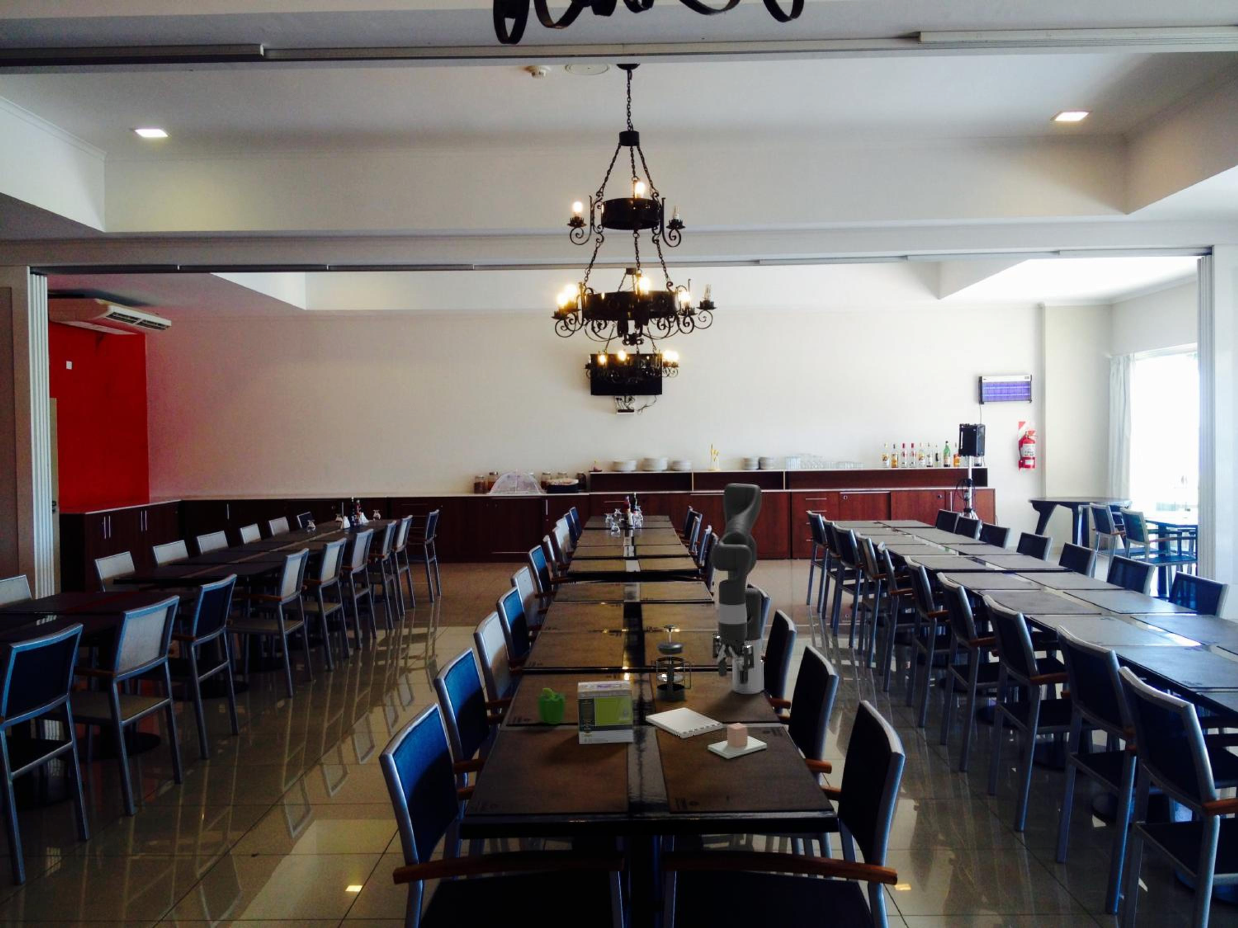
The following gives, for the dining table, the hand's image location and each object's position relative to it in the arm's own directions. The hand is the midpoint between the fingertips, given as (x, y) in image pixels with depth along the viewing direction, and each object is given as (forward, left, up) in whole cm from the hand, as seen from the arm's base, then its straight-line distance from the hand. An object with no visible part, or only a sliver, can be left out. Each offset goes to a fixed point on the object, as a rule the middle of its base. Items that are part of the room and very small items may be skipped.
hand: (733, 679), depth 230 cm
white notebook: (0, -22, -18) cm, 29 cm away
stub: (0, +2, -18) cm, 18 cm away
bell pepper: (+30, -46, -19) cm, 58 cm away
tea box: (+24, -26, -19) cm, 40 cm away
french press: (-12, -44, -19) cm, 49 cm away
